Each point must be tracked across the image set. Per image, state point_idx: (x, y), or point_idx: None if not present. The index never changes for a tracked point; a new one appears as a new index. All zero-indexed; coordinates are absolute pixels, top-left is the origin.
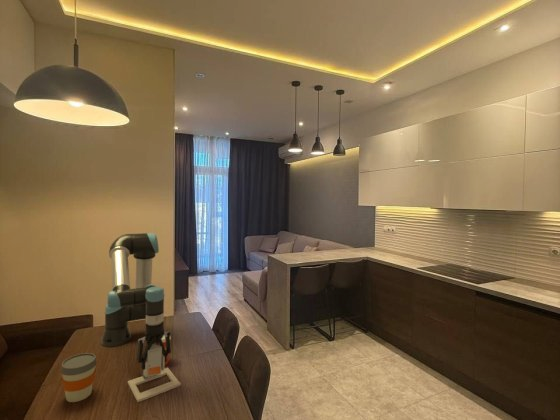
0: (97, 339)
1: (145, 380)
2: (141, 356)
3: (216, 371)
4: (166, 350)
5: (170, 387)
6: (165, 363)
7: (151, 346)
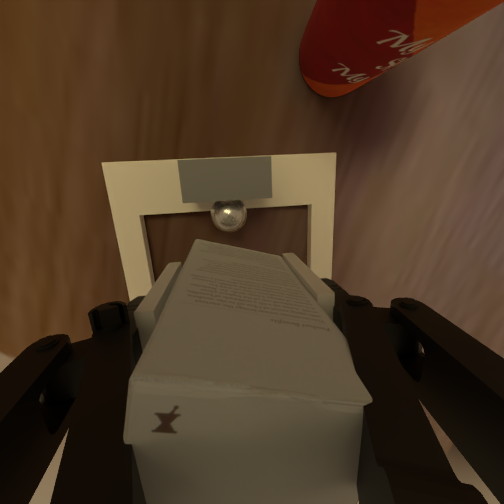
0: None
1: (197, 211)
2: (46, 458)
3: (484, 304)
4: (391, 327)
5: None
6: (343, 93)
7: (209, 425)
